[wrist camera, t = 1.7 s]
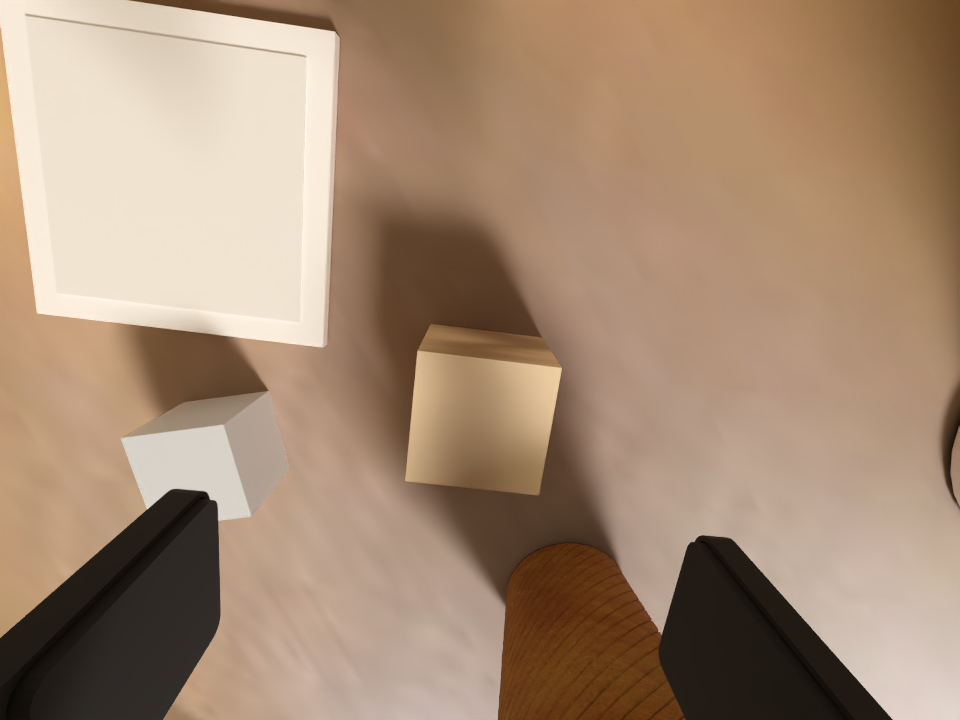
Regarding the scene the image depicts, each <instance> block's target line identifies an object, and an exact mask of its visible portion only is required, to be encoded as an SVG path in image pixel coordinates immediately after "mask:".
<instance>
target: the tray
mask: <svg viewBox="0 0 960 720" xmlns="http://www.w3.org/2000/svg"><path fill="white" fill-rule="evenodd" d="M0 25H1V33H2V41H3V49H4V56H5V64H6V72H7V80H8V88H9V96H10V104H11V112H12V119H13V127H14V135H15V143H16V151H17V159H18V167H19V174H20V182H21V190H22V198H23V206H24V214H25V222H26V230H27V237H28V245H29V253H30V261H31V269H32V277H33V285H34V293H35V300H36V308H37V313H39V314H48V315H56V316H64V317H73V318H81V319H90V320H98V321H106V322H115V323H123V324H131V325H140V326H148V327H156V328H165V329H173V330H181V331H190V332H198V333H206V334H215V335H223V336H232V337H240V338H248V339H257V340H265V341H273V342H282V343H290V344H298V345H307V346H315V347H324V346H326V345H327V338H328V314H329V290H330V265H331V241H332V217H333V193H334V169H335V145H336V121H337V97H338V72H339V48H340V38H339V36H338V35H337V33H336V32H335V31H328V30H321V29H315V28H308V27H301V26H295V25H288V24H281V23H275V22H268V21H262V20H255V19H248V18H242V17H235V16H228V15H222V14H215V13H209V12H202V11H195V10H189V9H182V8H175V7H169V6H162V5H155V4H149V3H142V2H136V1H129V0H0Z"/></svg>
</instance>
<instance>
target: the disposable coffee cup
mask: <svg viewBox="0 0 960 720" xmlns="http://www.w3.org/2000/svg"><path fill="white" fill-rule="evenodd" d="M638 600H639V599H638V597H637V596H636V594H635V593H634V591H633V590H632V588H631V587H630V585H629V583H627V580H626V579H625V577H624V576H623V574H622V572H621V570H620V569H619V567H618V566H617V564H616V563H615V562H614V561H613V560H612V559H611V558H610V557H609V556H608V555H607V554H605V553H603V552H602V551H600V550H599V549H596V548H593V547H591V546H588V545H582V544H576V543H562V544H557V545H551V546H548V547H545V548H543V549H540V550H538V551H536V552H534V553H532V554H530V555H529V556H528V557H527V558H525V559H524V560H523V561H522V562H521V563H520V564H519V565H518V566H517V568H516V569H515V570H514V572H513V574H512V575H511V577H510V579H509V583H508V586H507V593H506V612H505V626H504V641H503V653H502V668H501V685H500V695H499V710H498V720H686V719H685V717H684V715H683V713H682V711H681V708H680V706H679V704H678V702H677V700H676V698H675V695H674V693H673V691H672V689H671V687H670V685H669V682H668V680H667V678H666V676H665V674H664V672H663V669H662V667H661V664H660V660H659V644H660V640H661V637H662V635H661V634H660V632H658V628H657V627H656V625H655V624H654V623H653V621H651V620H652V619H651V618H650V616H649V615H648V613H647V612H646V611H644V610H645V608H644V607H643V605H642V604H641V602H640V601H638Z"/></svg>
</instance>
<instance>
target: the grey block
mask: <svg viewBox="0 0 960 720" xmlns="http://www.w3.org/2000/svg"><path fill="white" fill-rule="evenodd" d="M121 441H122V443H123V446H124V449H125V451H126V454H127V457H128V460H129V462H130V465H131V468H132V470H133V473H134V476H135V478H136V481H137V484H138V486H139V489H140V492H141V495H142V497H143V500H144V503H145V505H146V508H147V509H148V508H150V507H151V506H152V505H153V504H154V503H155V502H156V501H158V500H159V499H160V498H161V497H162V496H163V495H164V494H166V493H167V492H168V491H170V490H171V489H185V490H197V491H205V492H207V493H208V495H209V497H210V500H215V501H216V502H217V505H218V521H220V520H228V519H236V518H244V517H251V516H252V515H253V514H254V513H255V511H256V510H257V509H258V508H259V506H260V505H261V504H262V503H263V501H264V500H265V499H266V498H267V496H268V495H269V494H270V493H271V491H272V490H273V489H274V488H275V486H276V485H277V484H278V483H279V481H280V480H281V479H282V478H283V476H284V475H285V474H286V473H287V471H288V470H289V469H290V467H289V463H288V459H287V456H286V452H285V448H284V445H283V441H282V437H281V434H280V430H279V426H278V423H277V419H276V415H275V412H274V408H273V404H272V401H271V397H270V393H269V391H263V392H256V393H248V394H241V395H233V396H226V397H218V398H211V399H203V400H196V401H188V402H183V403H182V404H180V405H178V406H176V407H175V408H173V409H171V410H169V411H167V412H166V413H164V414H162V415H160V416H159V417H157V418H155V419H153V420H152V421H150V422H148V423H146V424H145V425H143V426H141V427H139V428H138V429H136V430H134V431H132V432H130V433H129V434H127V435H125V436H123V437H122V438H121Z"/></svg>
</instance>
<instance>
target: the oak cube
mask: <svg viewBox="0 0 960 720" xmlns="http://www.w3.org/2000/svg"><path fill="white" fill-rule="evenodd" d="M561 371H562V367H561V366H560V364H559V363H558V361H557V360H556V358H555V357H554V355H553V354H552V352H551V350H550V349H549V347H548V346H547V344H546V343H545V341H544V340H543V338H542V337H535V336H527V335H519V334H511V333H503V332H495V331H486V330H478V329H470V328H462V327H454V326H446V325H438V324H430V326H429V328H428V330H427V332H426V335H425V337H424V339H423V341H422V343H421V345H420V347H419V349H418V351H417V361H416V372H415V382H414V393H413V404H412V414H411V425H410V435H409V446H408V456H407V467H406V478H405V481H409V482H418V483H427V484H436V485H446V486H455V487H464V488H474V489H483V490H492V491H501V492H511V493H520V494H529V495H539V492H540V487H541V481H542V476H543V470H544V465H545V459H546V454H547V448H548V443H549V437H550V432H551V426H552V421H553V415H554V410H555V404H556V399H557V393H558V388H559V382H560V377H561Z"/></svg>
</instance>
